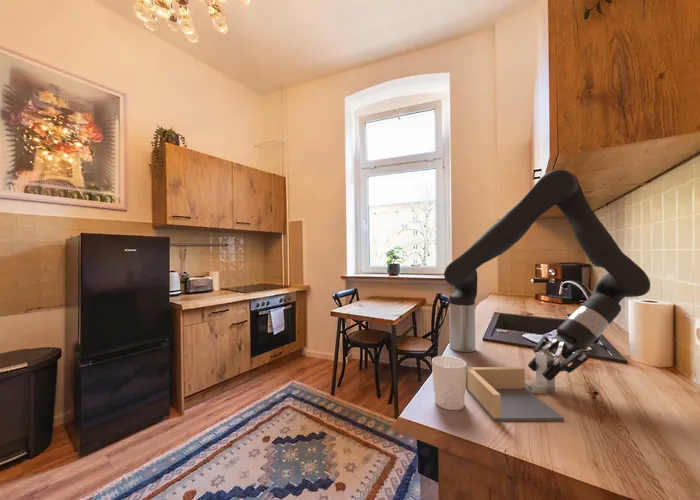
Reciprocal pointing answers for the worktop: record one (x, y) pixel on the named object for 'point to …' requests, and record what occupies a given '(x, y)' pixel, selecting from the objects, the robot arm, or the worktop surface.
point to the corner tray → (506, 395)
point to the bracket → (541, 382)
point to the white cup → (449, 382)
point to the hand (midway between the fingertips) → (538, 372)
